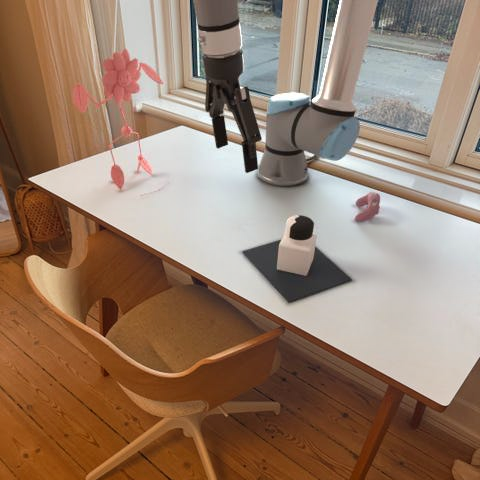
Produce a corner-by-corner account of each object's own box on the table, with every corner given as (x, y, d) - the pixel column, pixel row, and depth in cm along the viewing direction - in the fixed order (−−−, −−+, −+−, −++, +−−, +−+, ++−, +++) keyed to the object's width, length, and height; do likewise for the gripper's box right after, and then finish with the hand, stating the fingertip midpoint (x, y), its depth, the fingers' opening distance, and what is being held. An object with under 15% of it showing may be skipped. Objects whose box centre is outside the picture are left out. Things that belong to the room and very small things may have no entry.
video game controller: (367, 229, 125) (384, 209, 120) (353, 220, 124) (369, 200, 119) (367, 210, 132) (383, 191, 127) (354, 202, 131) (370, 183, 126)
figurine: (87, 191, 134) (56, 55, 110) (156, 162, 148) (142, 37, 124) (119, 210, 127) (94, 69, 103) (189, 178, 141) (181, 48, 117)
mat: (300, 235, 120) (300, 233, 119) (351, 280, 106) (352, 279, 106) (242, 252, 114) (242, 250, 113) (288, 303, 100) (288, 301, 100)
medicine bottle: (313, 259, 111) (320, 215, 103) (306, 276, 106) (313, 231, 98) (284, 253, 113) (288, 209, 105) (276, 270, 108) (280, 225, 100)
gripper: (177, 41, 93) (197, 142, 109) (236, 76, 77) (249, 188, 93) (210, 31, 95) (225, 131, 110) (274, 63, 79) (281, 175, 95)
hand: (236, 157), depth 102 cm, fingers open, 13 cm apart
